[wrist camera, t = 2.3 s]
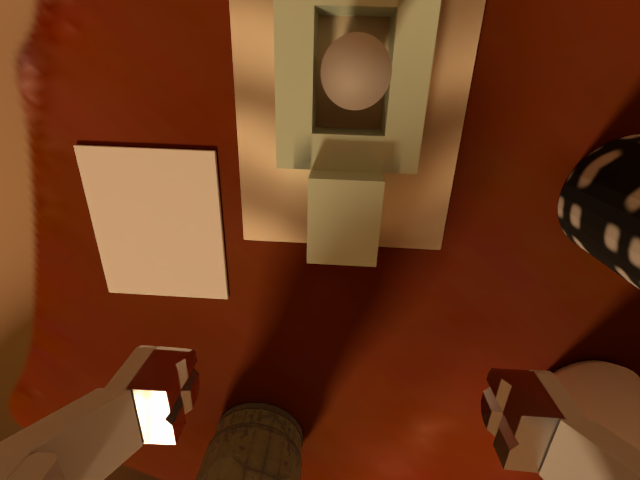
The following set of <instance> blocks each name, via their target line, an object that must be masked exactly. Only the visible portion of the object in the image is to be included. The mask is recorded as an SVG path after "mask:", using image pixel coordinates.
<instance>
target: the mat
mask: <svg viewBox="0 0 640 480" xmlns="http://www.w3.org/2000/svg"><path fill="white" fill-rule="evenodd" d="M74 150H75V154H76V158H77V162H78V166H79V170H80V175H81V179H82V183H83V187H84V191H85V195H86V199H87V203H88V207H89V212H90V216H91V220H92V224H93V228H94V232H95V236H96V240H97V244H98V249H99V253H100V257H101V261H102V265H103V269H104V273H105V277H106V281H107V286H108V290H109V292H112V293H129V294H146V295H163V296H180V297H197V298H214V299H228V298H229V295H228V284H227V272H226V261H225V249H224V237H223V226H222V214H221V203H220V191H219V180H218V168H217V157H216V151H215V150H191V149H166V148H142V147H117V146H93V145H74Z"/></svg>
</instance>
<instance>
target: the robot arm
mask: <svg viewBox="0 0 640 480" xmlns="http://www.w3.org/2000/svg"><path fill="white" fill-rule="evenodd" d="M196 362H197V357H196V351H194V350H193V349H183V348H172V347H160V346H159V347H156V346H145V345H141V346H139V347H137V348H136V349H135V350H134V351H133V353H132V354H131V355H130V356H129V358H128V359H127V360H126V361H125V363H124V364H123V365H122V366H121V368H120V369H119V370H118V372H117V373H116V374H115V375H114V377H113V378H112V379H111V380H110V382H109V383H108V384H107V385H106V387H105V388H98V389H96V390H94V391H92V392H90V393H88V394H87V395H85V396H83V397H81V398H79V399H78V400H76V401H74V402H72V403H70V404H68V405H67V406H65V407H63V408H61V409H59V410H58V411H56V412H54V413H52V414H50V415H48V416H47V417H45V418H43V419H41V420H39V421H38V422H36V423H34V424H32V425H30V426H28V427H27V428H25V429H23V430H21V431H19V432H18V433H16V434H14V435H12V436H10V437H8V438H7V439H5V440H3V441H1V442H0V480H104V479H105V478H106V477H107V476H108V475H110V474H111V473H112V472H113V471H114V470H115V469H116V468H118V467H119V466H120V465H121V464H122V463H123V462H125V461H126V460H127V459H128V458H129V457H130V456H131V455H133V454H134V453H135V452H136V451H137V450H138V449H139V448H141V447H142V446H143V443H145V444H168V445H176V443H177V441H178V439H179V437H180V434H181V432H182V430H183V428H184V426H185V424H186V419H185V414H186V413H187V412H189V411H190V410H191V409H193V407H194V404H195V402H196V400H197V396H198V391H199V382H200V380H199V373H198V372H197V371H196V370H195V369H194V366H195V364H196ZM487 382H488V384H489V386H490V387H489V388H488V389H486V390H485V391H484V392H483V395H482V399H481V413H482V417H483V421H484V424H485V426H486V429H487V430H488V431H489V432H491V433H492V434H493V435H494V436H495V440H494V444H493V445H494V448H495V450H496V452H497V455H498V457H499V459H500V462H501V464H502V466H503V469H507V470H517V471H526V472H536V473H539V475H540V476H541V477H542V478H543V479H544V480H640V450H638V449H637V448H635V447H634V446H632V445H631V444H629V443H628V442H626V441H625V440H623V439H621V438H620V437H618V436H617V435H615V434H614V433H612V432H611V431H609V430H608V429H606V428H605V427H603V426H602V425H600V424H599V423H597V422H592V421H589V420H588V418H587V417H586V416H585V414H584V413H583V412H582V410H581V409H580V408H579V406H578V405H577V404H576V402H575V401H574V400H573V398H572V397H571V396H570V394H569V393H568V392H567V390H566V389H565V388H564V386H563V385H562V384H561V382H560V381H559V380H558V378H557V377H556V376H555V374H554V373H552V372H550V371H541V370H514V369H497V368H492V369H491V370H490V371H489V373H488V376H487Z"/></svg>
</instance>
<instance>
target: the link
mask: <svg viewBox="0 0 640 480" xmlns="http://www.w3.org/2000/svg"><path fill="white" fill-rule="evenodd" d="M440 6H441V0H273V18H274V68H275V118H276V168H284V169H307V170H311V172H310V174H309V177H308V212H307V263H310V264H328V265H347V266H365V267H376V264H377V254H378V245H379V235H380V226H381V216H382V206H383V197H384V187H385V180H384V178H383V175H382V173H401V174H417V171H418V164H419V156H420V149H421V142H422V135H423V128H424V121H425V113H426V106H427V99H428V92H429V85H430V78H431V71H432V63H433V56H434V49H435V42H436V35H437V28H438V21H439V13H440ZM318 15H332V16H373V17H390V28H389V39H388V49H387V51H388V53H389V56H390V59H391V64H392V75H391V80H390V84H389V86H388V89H387V90H386V92H385V94H384V95H383V103H382V114H381V124H380V129H356V128H329V127H316V95H317V52H318Z"/></svg>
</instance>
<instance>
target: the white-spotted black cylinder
mask: <svg viewBox="0 0 640 480" xmlns="http://www.w3.org/2000/svg"><path fill="white" fill-rule="evenodd" d="M558 218H559V221H560V225H561V227H562V229H563V231H564V233H565V234H566V236H567V237H568V238H569V239H570V240H571V241H572V242H574V243H575V244H577V245H578V246H579V247H581V248H582V249H584V250H585V251H586V252H588V253H589V254H591V255H592V256H593V257H595V258H596V259H598V260H599V261H600V262H602V263H603V264H605V265H606V266H607V267H609V268H610V269H612V270H613V271H614V272H616V273H617V274H619V275H620V276H621V277H623V278H624V279H626V280H627V281H628V282H630V283H631V284H633V285H634V286H635V287H637V288H638V289H640V134H639V135H630V136H626V137H622V138H618V139H616V140H614V141H611V142H609V143H607V144H604V145H603V146H601V147H600V148H598V149H596V150H595V151H593V152H592V153H590V154H589V155H588V156H587V157H586V158H585V159H583V160H582V161H581V162H580V163H579V164H578V165H577V167H576V168H575V169H574V170H573V171H572V172H571V174H570V176H569V177H568V179H567V180H566V182H565V184H564V186H563V189H562V191H561V194H560V198H559V203H558Z"/></svg>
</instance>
